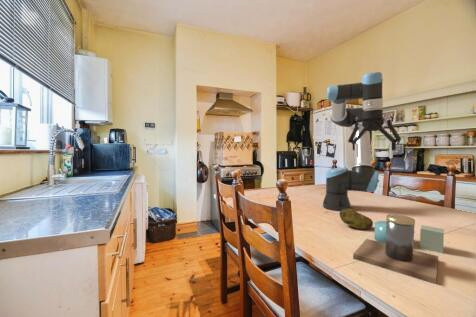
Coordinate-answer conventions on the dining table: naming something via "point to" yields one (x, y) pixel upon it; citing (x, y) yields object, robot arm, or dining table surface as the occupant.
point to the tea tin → (399, 237)
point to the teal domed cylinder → (380, 231)
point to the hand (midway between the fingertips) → (373, 157)
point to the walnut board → (418, 267)
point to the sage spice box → (431, 238)
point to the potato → (355, 219)
